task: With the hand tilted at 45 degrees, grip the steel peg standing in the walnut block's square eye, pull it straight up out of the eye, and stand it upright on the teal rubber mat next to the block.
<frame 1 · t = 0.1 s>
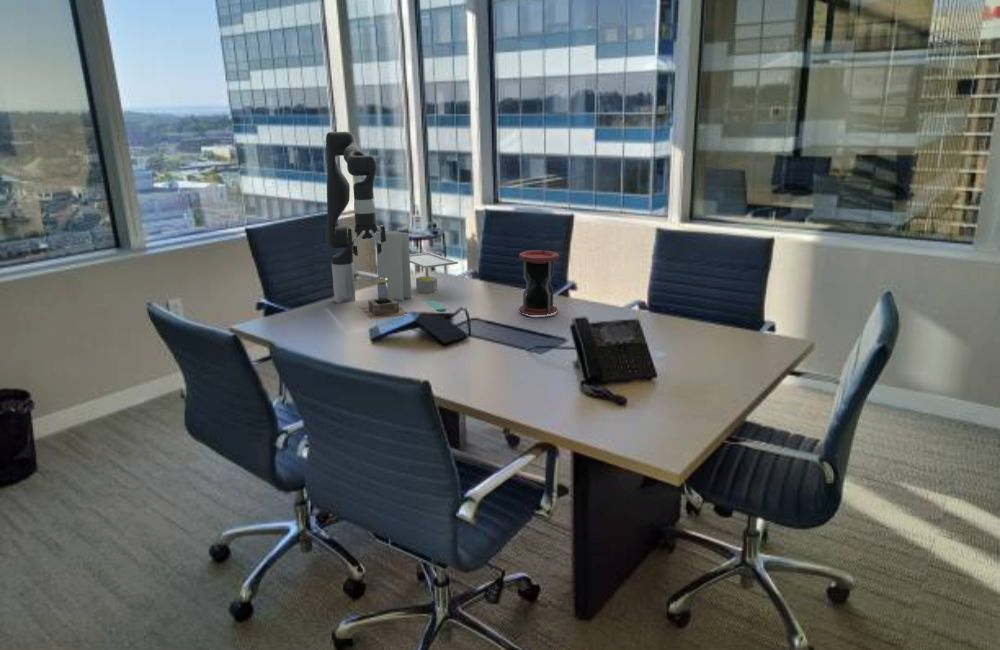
hand: (367, 254, 258), 29 cm above the table, tool pointing down, fingers open, 8 cm apart
solar panel model: (427, 290, 325), on the table
steel peg: (383, 310, 286), point 1 cm above the table, touching eye block
rubber mat: (427, 308, 294), on the table
tall grey pillar: (395, 299, 308), on the table
hourglass: (538, 312, 288), on the table
eye block: (383, 313, 286), on the table
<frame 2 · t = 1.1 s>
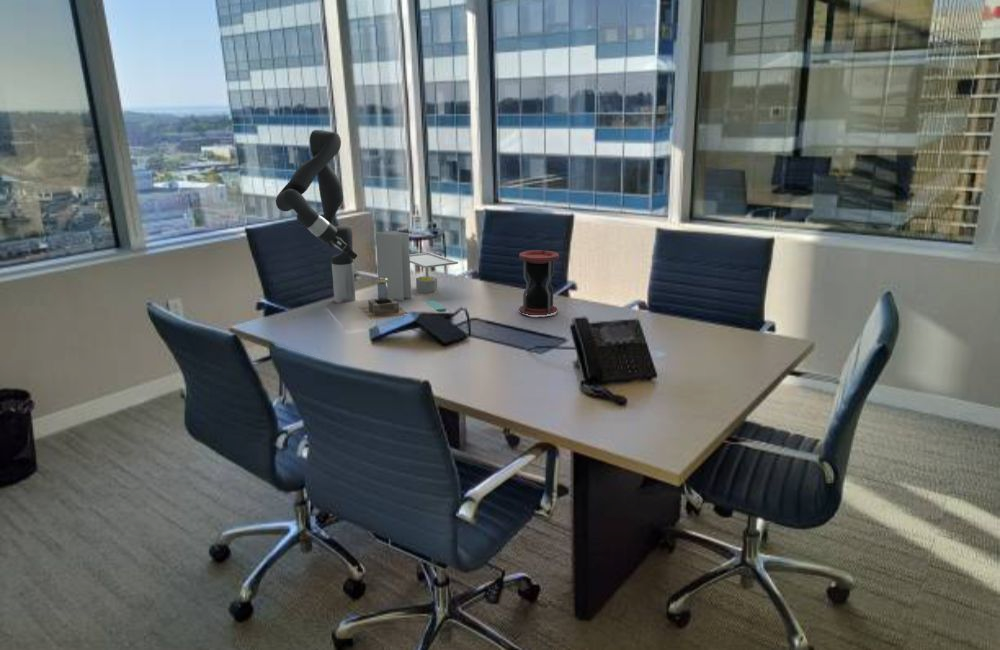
hand: (352, 255, 274), 26 cm above the table, tool tilted 45°, fingers open, 8 cm apart
nothing on the table moved.
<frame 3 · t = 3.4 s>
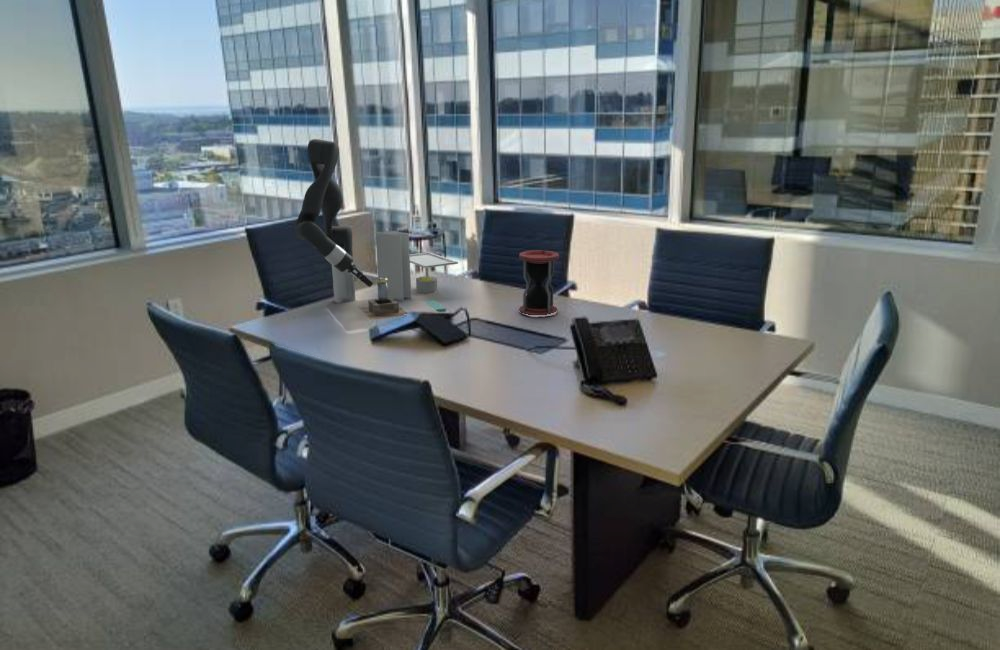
hand: (368, 283, 280), 14 cm above the table, tool tilted 45°, fingers open, 8 cm apart
nothing on the table moved.
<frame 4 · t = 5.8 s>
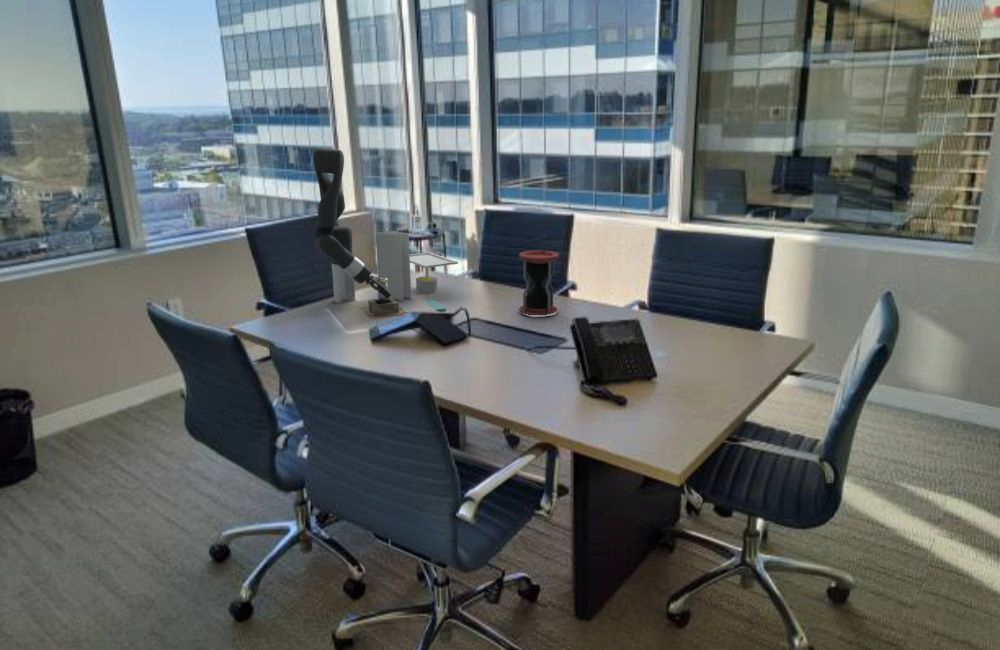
hand: (387, 295, 285), 8 cm above the table, tool tilted 45°, fingers closed on steel peg, 4 cm apart
steel peg: (383, 310, 286), point 1 cm above the table, touching eye block, gripper
everything else where it was.
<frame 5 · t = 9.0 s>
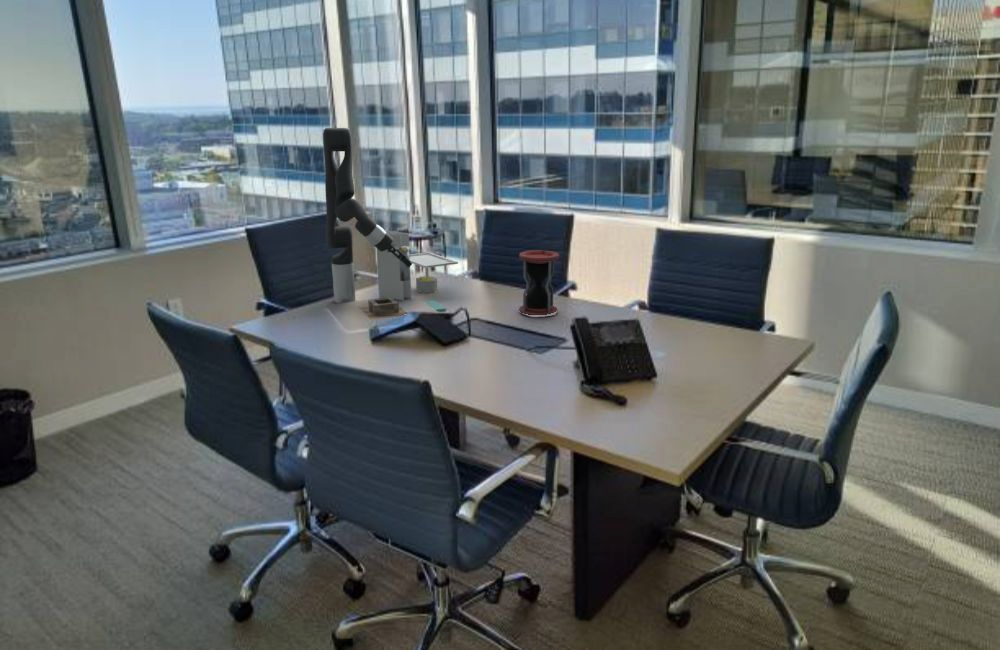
hand: (408, 264, 285), 20 cm above the table, tool tilted 45°, fingers closed on steel peg, 4 cm apart
steel peg: (404, 280, 286), point 13 cm above the table, touching gripper
everything else where it was.
when the fingers open (9 cm above the table, at t = 12.2 s): steel peg drops 1 cm, resting on rubber mat.
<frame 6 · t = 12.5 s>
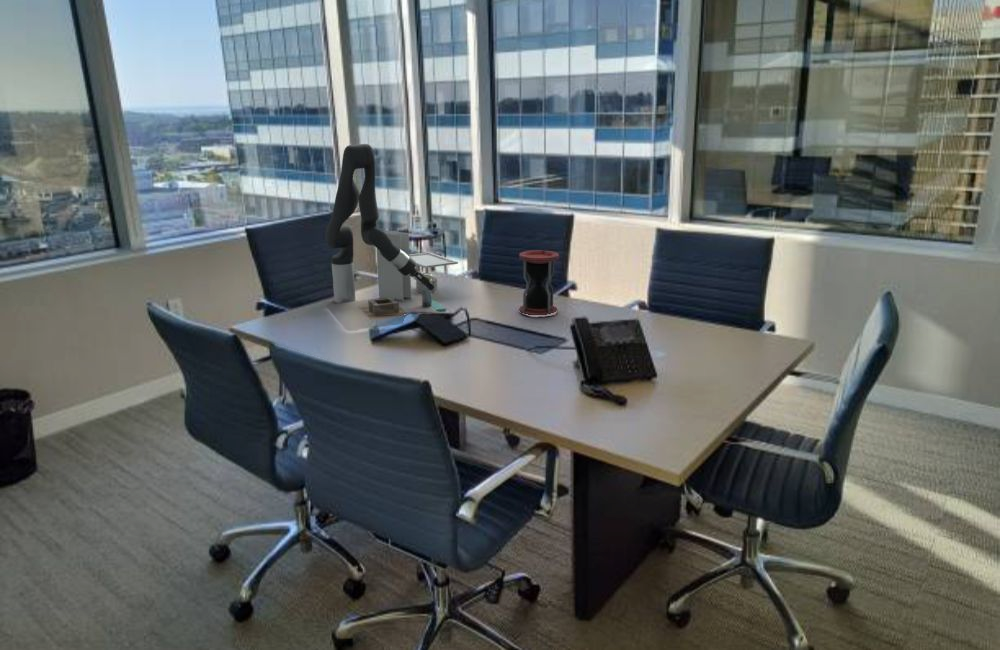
hand: (430, 286, 292), 9 cm above the table, tool tilted 45°, fingers open, 6 cm apart
steel peg: (426, 305, 294), point 1 cm above the table, touching rubber mat
everything else where it was.
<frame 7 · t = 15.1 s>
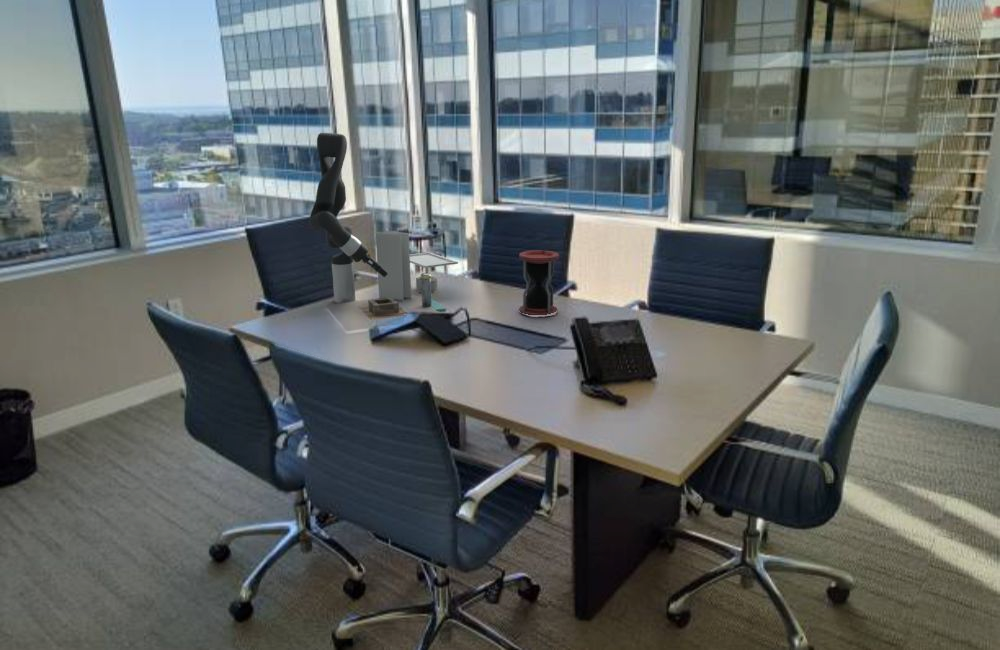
hand: (382, 273, 282), 17 cm above the table, tool tilted 45°, fingers open, 8 cm apart
nothing on the table moved.
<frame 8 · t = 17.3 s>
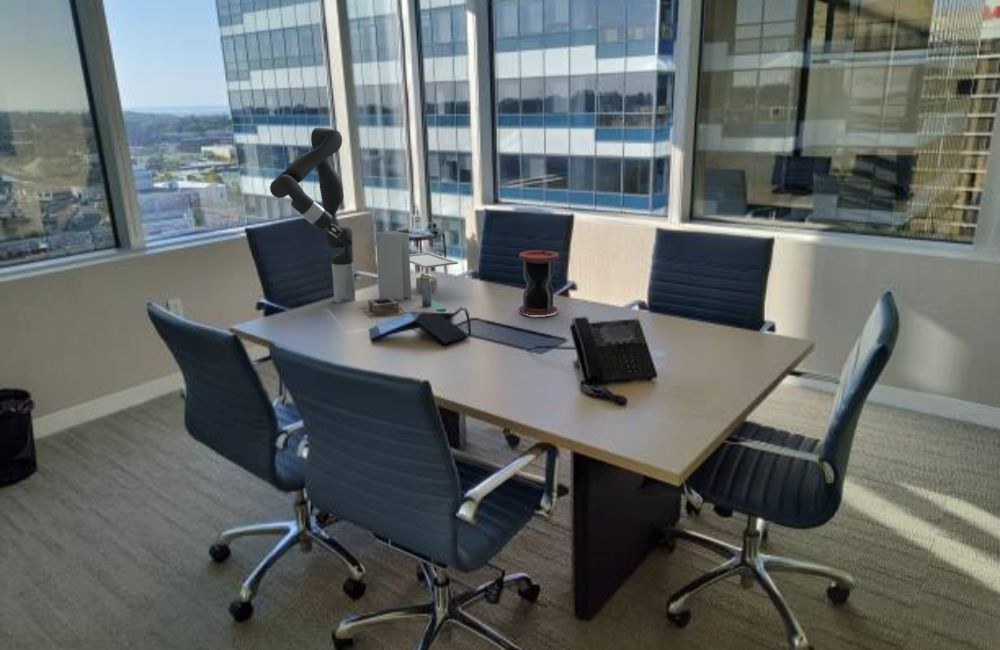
hand: (348, 242, 273), 31 cm above the table, tool tilted 45°, fingers open, 8 cm apart
nothing on the table moved.
at the end: steel peg inside the target area on the rubber mat (0.1 cm from its centre), point 1.0 cm above the rubber mat's base; steel peg tilted 0°; the gripper is holding nothing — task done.
